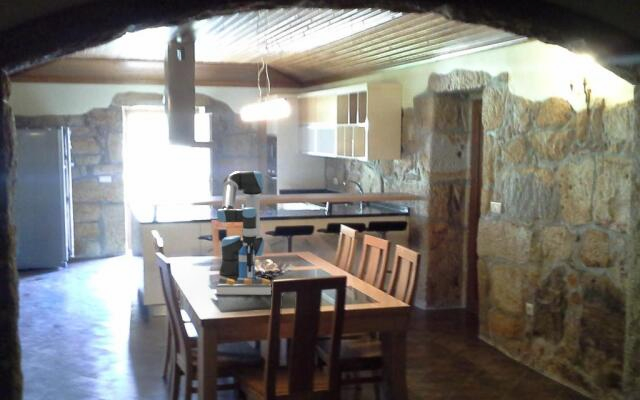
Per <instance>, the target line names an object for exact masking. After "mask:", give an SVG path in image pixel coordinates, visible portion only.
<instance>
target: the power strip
mask: <svg viewBox="0 0 640 400" xmlns="http://www.w3.org/2000/svg"><path fill="white" fill-rule="evenodd" d="M271 284H272V285H273V281H270V284H269V285H265V284H262V283H258V282H255V281H252V284H243V283H237V280H235V281H234V284H233V285H230V284H226V283H222V282H219V281H218V284H217V285H216V295H252V296H253V295H256V296H257V295H260V296H261V295H262V296H264V295H272V293H271Z"/></svg>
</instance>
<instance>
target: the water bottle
mask: <svg viewBox="0 0 640 400" xmlns="http://www.w3.org/2000/svg"><path fill="white" fill-rule="evenodd" d="M246 245H247V243H243V246H242V248H241V249H240V251H239V275H238V278H249V279H252V281H255V279H256V275H255V274H256V272H255V271H256V270H255V269H256V268H255V267H256V265H255V263H256V262H255V259H256V257H255V251H254V250H253V263H252V264H254V265H253V277H248V275H247V266H246V265H247V254H246Z"/></svg>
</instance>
